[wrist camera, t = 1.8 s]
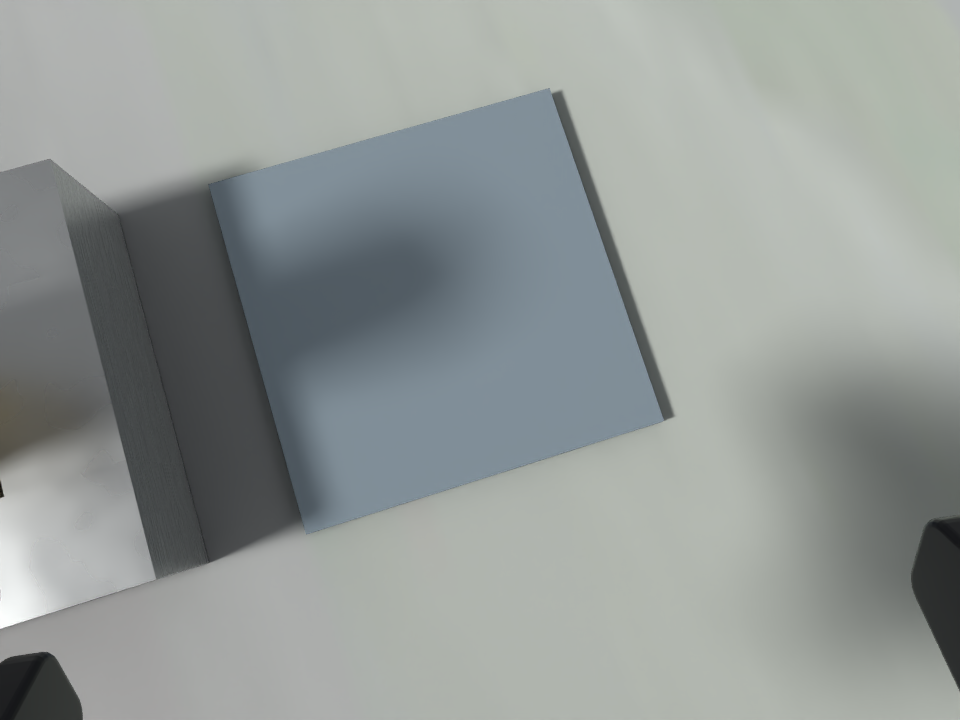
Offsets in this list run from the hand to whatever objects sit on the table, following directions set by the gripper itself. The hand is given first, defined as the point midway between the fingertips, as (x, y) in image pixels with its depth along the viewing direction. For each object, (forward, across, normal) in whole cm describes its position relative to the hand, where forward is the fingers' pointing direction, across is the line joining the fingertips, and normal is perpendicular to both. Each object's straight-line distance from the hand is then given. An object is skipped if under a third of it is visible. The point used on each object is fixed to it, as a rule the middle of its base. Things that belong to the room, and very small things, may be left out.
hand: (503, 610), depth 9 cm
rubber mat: (+15, 0, +4) cm, 15 cm away
